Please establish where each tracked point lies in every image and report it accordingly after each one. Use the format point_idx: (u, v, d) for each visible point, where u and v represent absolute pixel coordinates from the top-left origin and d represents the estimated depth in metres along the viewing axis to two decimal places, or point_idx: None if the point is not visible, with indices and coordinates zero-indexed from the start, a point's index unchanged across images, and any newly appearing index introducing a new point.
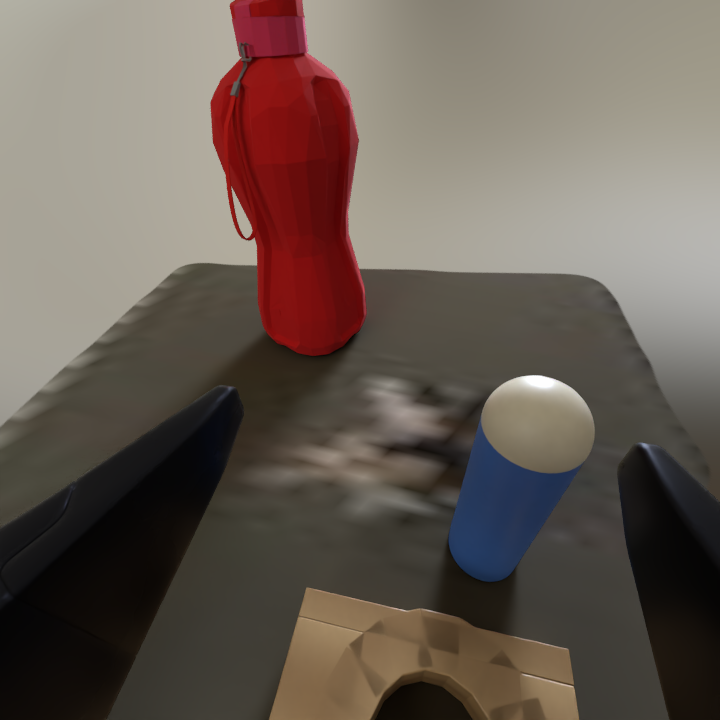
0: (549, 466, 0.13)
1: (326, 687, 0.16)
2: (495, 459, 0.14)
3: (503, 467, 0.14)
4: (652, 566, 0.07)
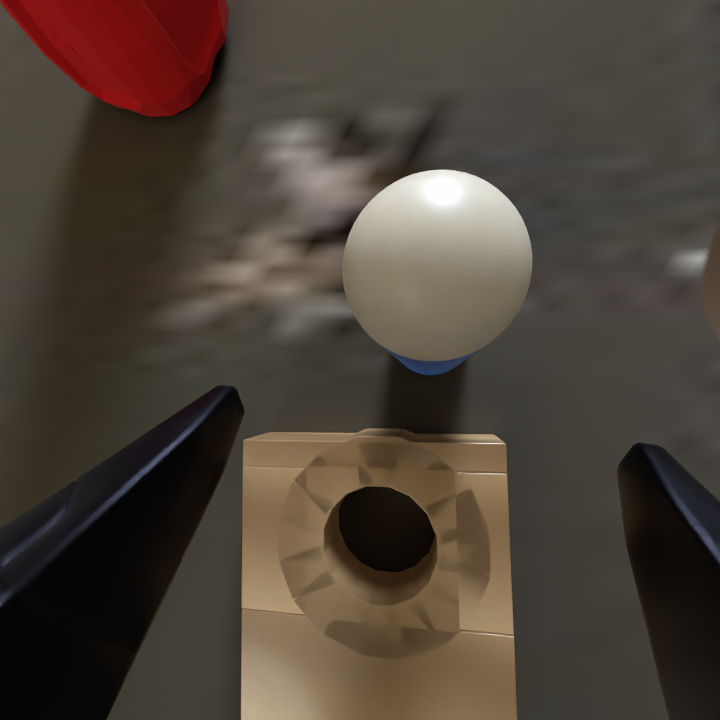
0: (444, 358, 0.08)
1: (282, 514, 0.17)
2: None
3: (386, 349, 0.09)
4: (652, 566, 0.07)
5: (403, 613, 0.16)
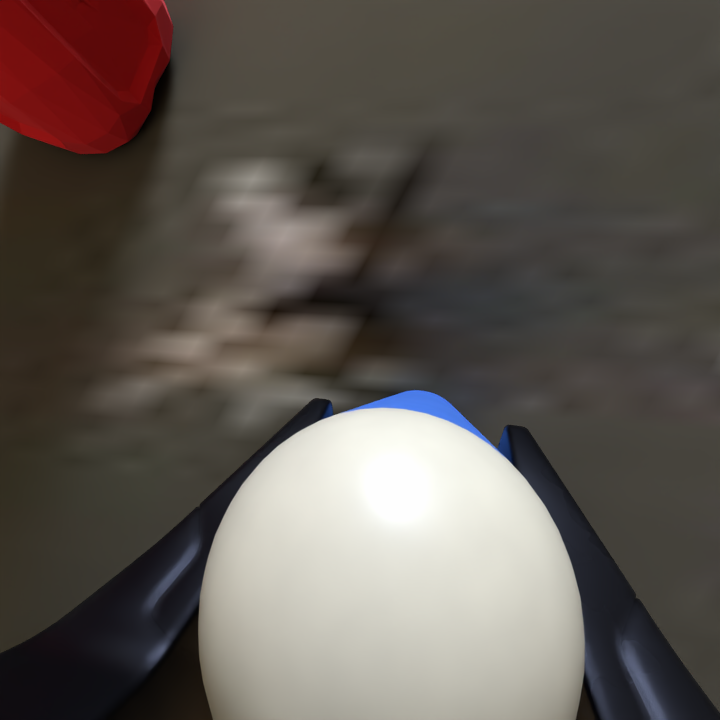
0: None
1: None
2: None
3: None
4: None
5: None
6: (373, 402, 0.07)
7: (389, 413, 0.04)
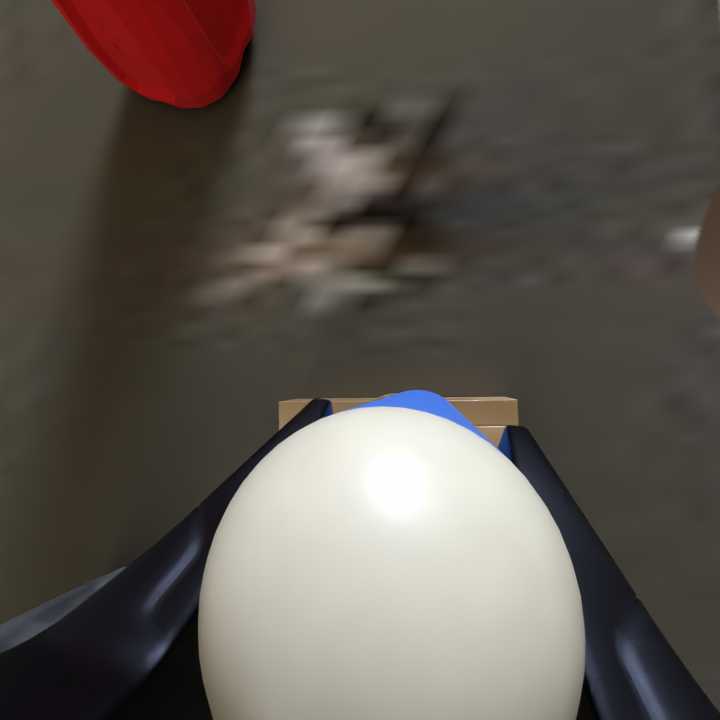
0: None
1: None
2: None
3: None
4: None
5: None
6: (373, 401, 0.07)
7: (389, 411, 0.04)
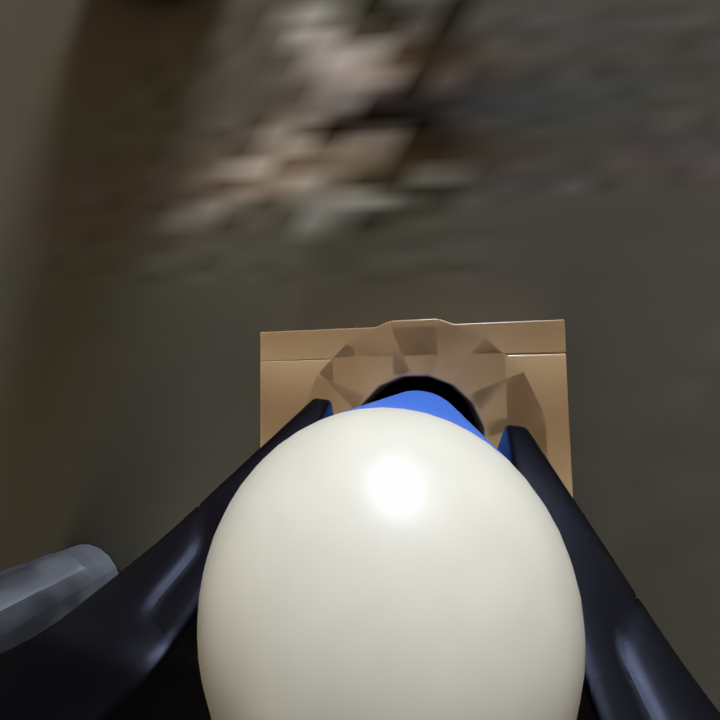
0: None
1: None
2: None
3: None
4: None
5: None
6: (373, 402, 0.07)
7: (389, 413, 0.04)
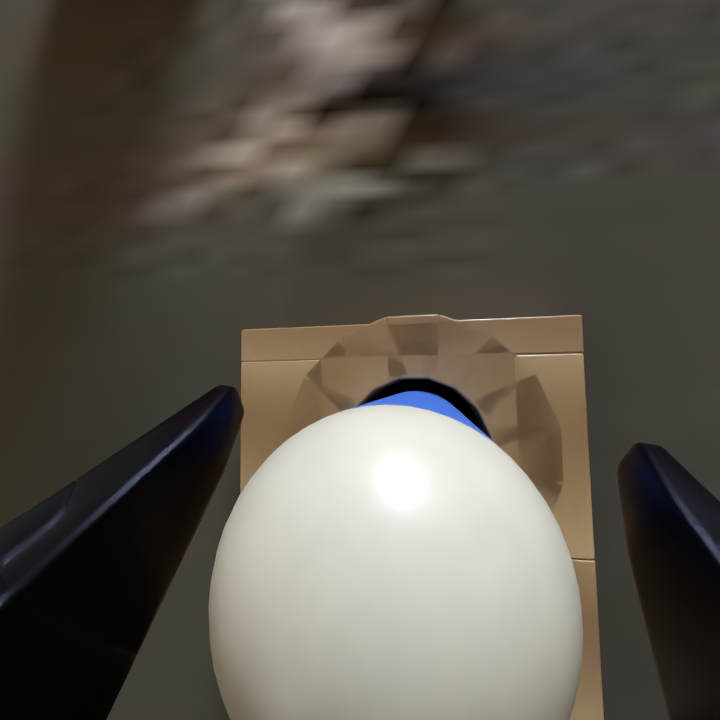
0: None
1: (290, 419, 0.14)
2: None
3: None
4: (652, 566, 0.07)
5: None
6: (376, 400, 0.07)
7: (394, 410, 0.04)
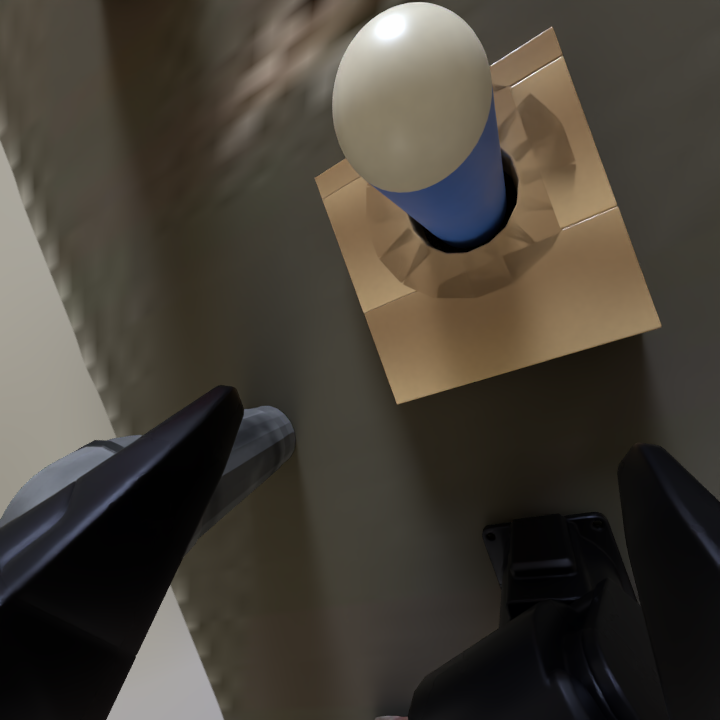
0: (440, 173, 0.09)
1: (367, 220, 0.19)
2: (386, 193, 0.11)
3: (399, 197, 0.11)
4: (652, 566, 0.07)
5: (501, 243, 0.17)
6: None
7: None
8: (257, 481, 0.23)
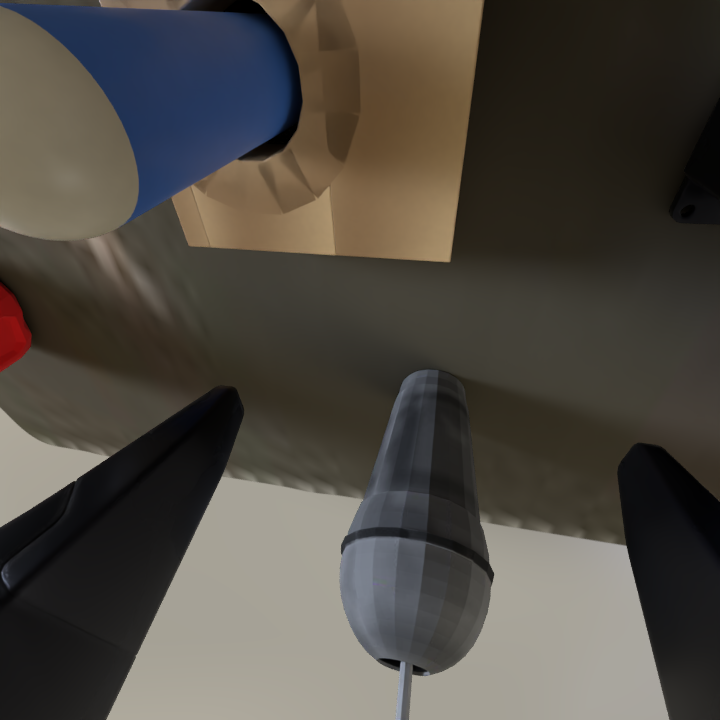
0: (107, 130, 0.07)
1: (240, 208, 0.17)
2: (147, 201, 0.09)
3: (154, 188, 0.08)
4: (652, 566, 0.07)
5: (303, 46, 0.13)
6: None
7: None
8: (461, 432, 0.21)
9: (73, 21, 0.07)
